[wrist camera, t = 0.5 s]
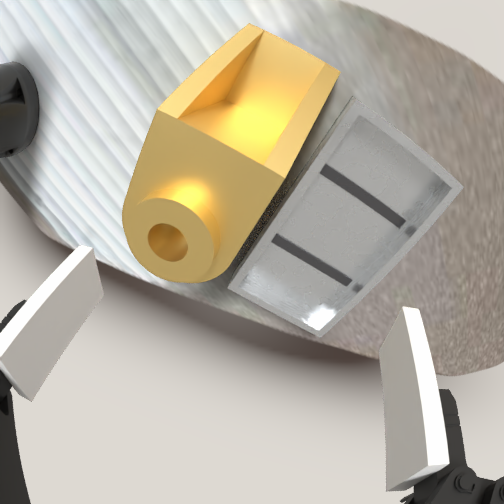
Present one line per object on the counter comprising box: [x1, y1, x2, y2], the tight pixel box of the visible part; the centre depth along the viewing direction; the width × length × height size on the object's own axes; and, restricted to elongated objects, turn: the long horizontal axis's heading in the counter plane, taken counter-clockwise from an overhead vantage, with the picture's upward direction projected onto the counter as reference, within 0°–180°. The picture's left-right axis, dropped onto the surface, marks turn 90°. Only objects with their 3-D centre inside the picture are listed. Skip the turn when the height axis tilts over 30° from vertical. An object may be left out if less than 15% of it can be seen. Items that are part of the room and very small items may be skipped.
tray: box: [228, 96, 463, 338], centre depth 34 cm, size 14×26×4 cm, turn 152°
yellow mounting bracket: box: [122, 23, 341, 283], centre depth 25 cm, size 20×9×16 cm, turn 152°
